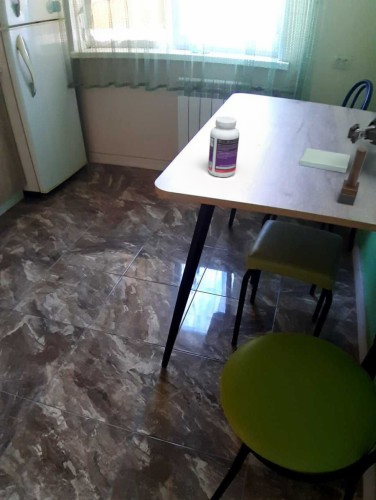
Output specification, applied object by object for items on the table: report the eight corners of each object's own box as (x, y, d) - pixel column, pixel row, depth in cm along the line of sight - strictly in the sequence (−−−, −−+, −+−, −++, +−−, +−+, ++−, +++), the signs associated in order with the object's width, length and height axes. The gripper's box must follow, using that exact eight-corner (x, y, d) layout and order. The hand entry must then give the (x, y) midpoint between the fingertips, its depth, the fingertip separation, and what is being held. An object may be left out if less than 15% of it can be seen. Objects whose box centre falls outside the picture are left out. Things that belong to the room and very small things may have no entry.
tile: (349, 159, 132) (350, 155, 131) (345, 173, 124) (347, 168, 123) (305, 152, 135) (306, 147, 134) (299, 165, 127) (300, 160, 126)
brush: (339, 193, 113) (354, 144, 104) (354, 196, 112) (371, 147, 103) (337, 202, 109) (352, 152, 100) (352, 205, 108) (369, 154, 99)
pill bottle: (240, 173, 121) (247, 119, 111) (224, 180, 116) (229, 126, 106) (218, 165, 124) (223, 113, 114) (202, 172, 120) (205, 119, 110)
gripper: (362, 108, 119) (347, 122, 108) (414, 118, 113) (403, 133, 103) (354, 136, 124) (339, 151, 113) (403, 146, 119) (392, 163, 108)
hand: (370, 143), depth 108 cm, fingers open, 8 cm apart
